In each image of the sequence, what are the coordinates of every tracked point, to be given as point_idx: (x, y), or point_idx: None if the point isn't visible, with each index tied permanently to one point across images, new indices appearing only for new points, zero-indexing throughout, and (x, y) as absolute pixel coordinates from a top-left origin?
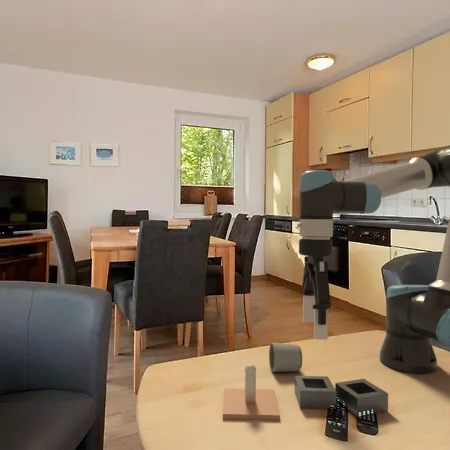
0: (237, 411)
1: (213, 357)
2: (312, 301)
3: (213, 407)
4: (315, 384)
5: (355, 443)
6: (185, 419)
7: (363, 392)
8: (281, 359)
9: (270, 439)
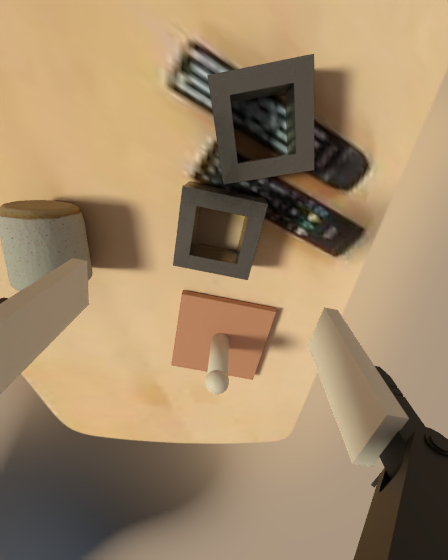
0: (250, 362)
1: None
2: (12, 329)
3: None
4: (195, 220)
5: (377, 218)
6: (244, 409)
7: (232, 99)
8: None
9: None
